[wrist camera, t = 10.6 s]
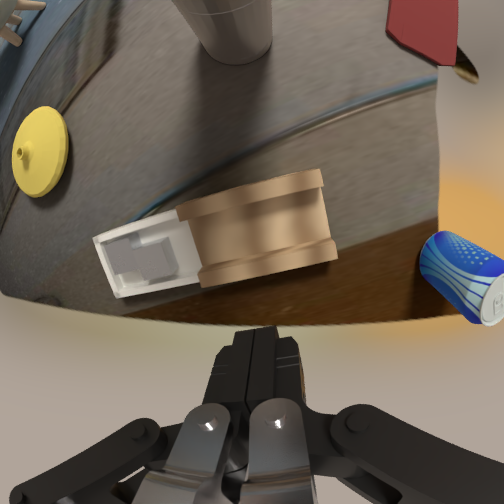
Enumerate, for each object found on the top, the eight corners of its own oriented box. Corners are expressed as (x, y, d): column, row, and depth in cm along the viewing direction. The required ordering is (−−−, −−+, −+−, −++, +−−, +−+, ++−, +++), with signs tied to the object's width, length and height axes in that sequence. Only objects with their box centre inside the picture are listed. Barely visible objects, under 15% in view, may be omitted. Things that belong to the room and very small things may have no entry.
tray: (186, 205, 36) (178, 208, 33) (207, 272, 39) (202, 281, 36) (103, 232, 38) (92, 238, 35) (124, 290, 41) (116, 298, 38)
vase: (45, 95, 31) (19, 91, 24) (91, 130, 33) (62, 128, 27) (16, 168, 36) (-10, 172, 29) (55, 211, 38) (28, 221, 31)
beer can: (409, 276, 36) (463, 333, 21) (424, 223, 34) (493, 260, 19) (446, 282, 36) (502, 333, 21) (461, 234, 33) (528, 270, 18)
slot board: (314, 168, 33) (319, 169, 29) (331, 248, 36) (337, 258, 32) (185, 201, 36) (174, 206, 32) (208, 276, 39) (201, 288, 35)
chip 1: (137, 232, 36) (127, 238, 34) (148, 261, 38) (139, 269, 35) (114, 240, 37) (103, 245, 34) (124, 267, 38) (115, 275, 35)
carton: (439, 75, 29) (445, -19, 18) (454, 72, 25) (456, -27, 13) (376, 43, 29) (389, -48, 18) (386, 35, 25) (396, -59, 13)
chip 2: (168, 236, 36) (160, 242, 33) (178, 266, 37) (171, 274, 35) (141, 244, 37) (132, 250, 34) (152, 272, 38) (143, 280, 35)
